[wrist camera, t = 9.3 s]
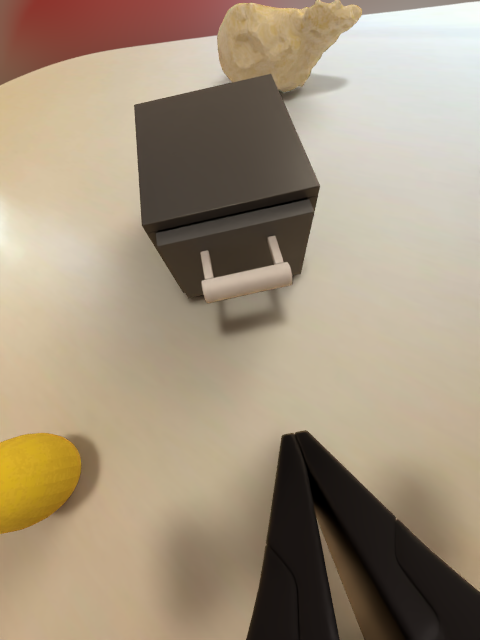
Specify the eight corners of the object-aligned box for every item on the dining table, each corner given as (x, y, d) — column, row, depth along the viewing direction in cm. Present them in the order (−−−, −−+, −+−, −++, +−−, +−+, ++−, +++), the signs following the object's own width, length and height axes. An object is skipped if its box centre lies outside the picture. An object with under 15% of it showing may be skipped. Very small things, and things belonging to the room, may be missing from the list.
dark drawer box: (302, 267, 26) (320, 185, 17) (183, 293, 26) (141, 225, 18) (270, 172, 31) (271, 73, 23) (171, 194, 32) (133, 104, 23)
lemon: (23, 470, 22) (-104, 493, 14) (79, 417, 23) (-12, 413, 15) (57, 529, 20) (-67, 590, 12) (115, 468, 21) (34, 491, 14)
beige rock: (206, 110, 40) (240, 63, 27) (202, 46, 37) (238, -40, 24) (294, 117, 45) (358, 80, 32) (296, 60, 42) (369, -5, 29)
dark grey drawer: (313, 311, 23) (334, 260, 16) (193, 337, 24) (161, 298, 16) (269, 180, 30) (270, 102, 23) (175, 202, 30) (146, 130, 23)
